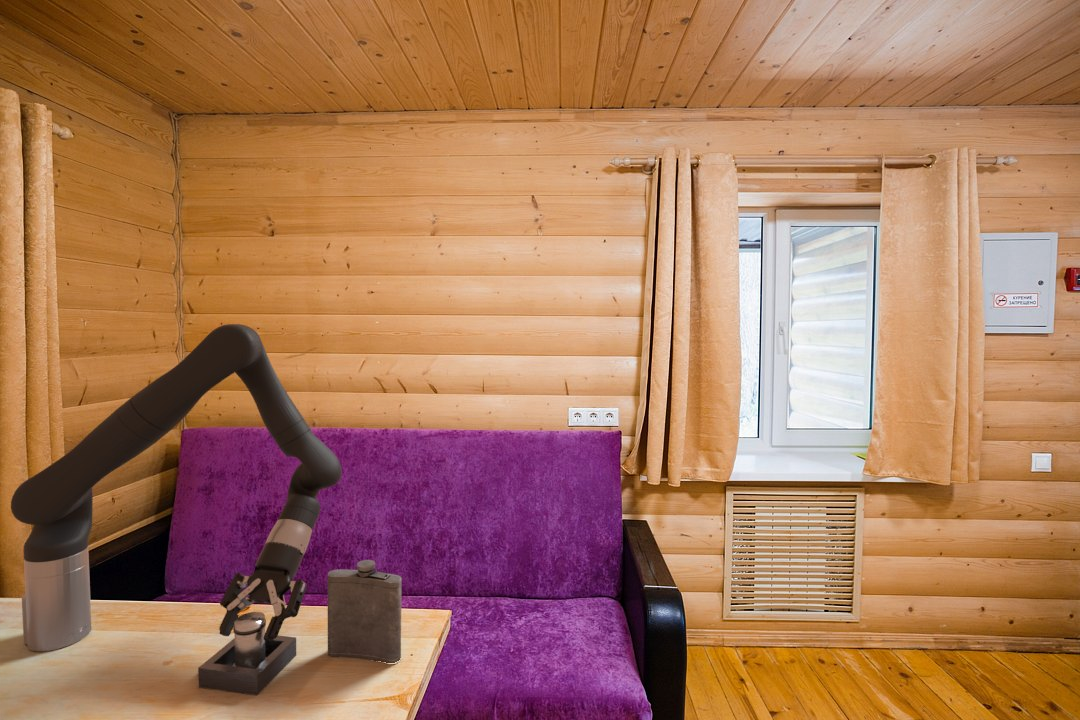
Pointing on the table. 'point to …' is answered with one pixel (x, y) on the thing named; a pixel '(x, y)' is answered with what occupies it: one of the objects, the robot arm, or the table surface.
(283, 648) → the square frame
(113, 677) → the table surface
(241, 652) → the silver metal cylinder
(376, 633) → the flask
